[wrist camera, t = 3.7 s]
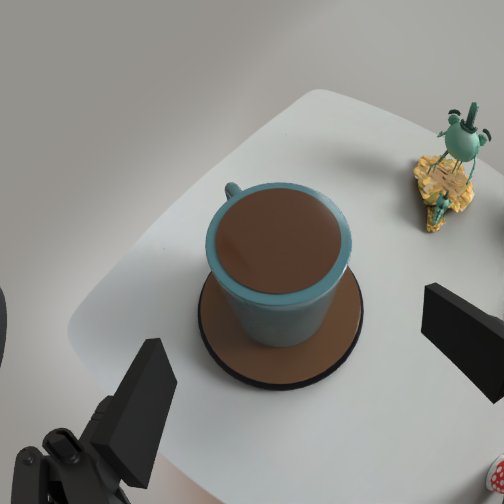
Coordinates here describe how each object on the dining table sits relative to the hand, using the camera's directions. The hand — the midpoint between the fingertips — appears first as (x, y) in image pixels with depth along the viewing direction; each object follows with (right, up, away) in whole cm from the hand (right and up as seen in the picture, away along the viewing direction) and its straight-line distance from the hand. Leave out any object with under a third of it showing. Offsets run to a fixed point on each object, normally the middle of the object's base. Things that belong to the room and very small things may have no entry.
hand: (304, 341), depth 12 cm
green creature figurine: (+23, +13, +18) cm, 32 cm away
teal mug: (0, -1, +13) cm, 13 cm away
